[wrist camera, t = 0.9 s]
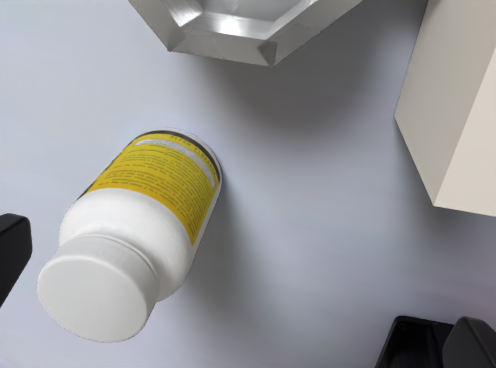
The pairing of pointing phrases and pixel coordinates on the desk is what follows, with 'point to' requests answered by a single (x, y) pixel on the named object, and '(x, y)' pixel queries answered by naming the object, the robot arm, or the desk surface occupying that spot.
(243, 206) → the desk surface
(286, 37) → the cup bracket
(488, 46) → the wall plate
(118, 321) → the supplement bottle
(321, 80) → the desk surface
